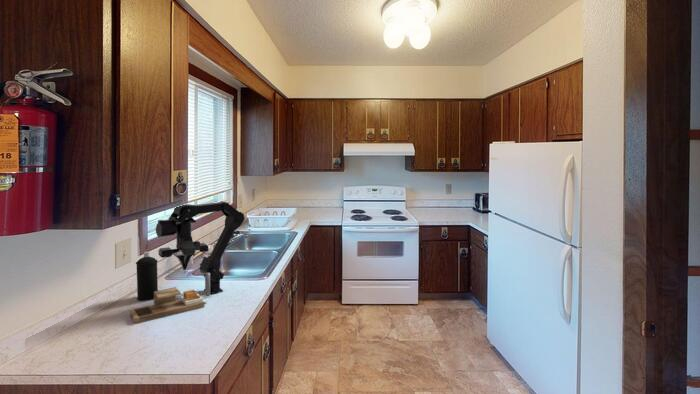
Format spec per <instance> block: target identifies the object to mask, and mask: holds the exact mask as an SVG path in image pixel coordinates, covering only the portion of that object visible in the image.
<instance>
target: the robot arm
mask: <svg viewBox="0 0 700 394" xmlns="http://www.w3.org/2000/svg"><path fill="white" fill-rule="evenodd" d="M184 204H185V205H182V206H179V207H176V206H175V207H176V208H175V207H174V208H173V211H172V213H171V214H170V216H169V217H168V218H167V219H158V220H157V223H156V225H155V234H156V236H157V237H158V238H162V237H169V236H170V237H171V236H175V239H176V245H175V248H170V247H169V246H167V247H161V248H159V250H158V256H159V257H161V258H163V259H164V258H171V257H172V256H174V257H175V258H177V259H178V261H179V263H180V266H181V268H182V269H183V270H184V271H185V270H187V268H188V265H189V262H190V259H191V258H192V257H193V256H195V255H196V251H198V252H199V251H200V252H201V253H206V252H207V253H208V252H209V245H207V244H206V243H204V242H200V241H199V240H195V241H193V236H192V224H193V223H196V222H197V220H195V218H194V217H196V216H198V215H201V214H208V213H216V212H221V213H222V214H223V216H225V220H224V228H223V230H222V232H221V234H220V235H219V238H218V239H217V241H216V243H215V245H214V247H213V249H212V251H211V253H210V255H209V256H207V257H206V256H204V257H203V258H202V261H201V263H200V264H199V272H200V273H201V274H202V276H203V277H204V278H205V273H210V295H212V294H217V293H221V292H223V291H224V289H222V288H221V280H223V279H224V276H225V274H224V273H223V272H222V271H221V270H220V269H221V260H222V257H223V256H224V253H225V251H226V249H227V247H228V245H229V243H230V241H231V239H232V238H233V235H234V234H235V233H234V232H236V230H237V229H239V228H240V227H241V226H242V224H243V222H244V221H245V218H246V217H245V214H244V213H243V212H242V211H239V210H238V209H236V208H235V207H233V206H232V205H231V204H230V203H229V202H227V201H222V200H221V201H219V202H217V201H216V202H209V203H201V204H191V203H190V204H188V203H184ZM203 291H204V292H205V288H204V289H203Z"/></svg>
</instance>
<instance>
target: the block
mask: <svg viewBox="0 0 700 394" xmlns="http://www.w3.org/2000/svg"><path fill="white" fill-rule="evenodd" d="M197 293H198V292H197V291H196V290H195V289H189V290H185V291H183V296H184V299H185V300H186V301H190V300H194V299H197Z"/></svg>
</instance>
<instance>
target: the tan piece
mask: <svg viewBox="0 0 700 394" xmlns="http://www.w3.org/2000/svg"><path fill="white" fill-rule="evenodd" d="M181 294H182V293H181V291H180V290H179V289H178V288H177V287H175V286H173V287H170V288H165V289H158V291H154V299H153V304H151V305H146V306H141V307H137V308H132V309H129V313H128V314H129V317H130V319H131V320H132V322H133V324H135V325H136V324H140V323H144V322H148V321H152V320H156V319H161V318H165V317H169V316H173V315H177V314H182V313H185V312H190V311H193V310H198V309H202V308H205V302H204V300H203V301H202V302H198V303H194V304H189V305H185V304H184V303H183V302H182V301H181V298H178V299H177V296H178V295H179V296H180V295H181ZM197 299H198V298H197Z"/></svg>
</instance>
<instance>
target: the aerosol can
mask: <svg viewBox="0 0 700 394" xmlns="http://www.w3.org/2000/svg"><path fill="white" fill-rule="evenodd" d="M158 262H159V261H158V259H156V258H155V257H153V256H150V251H145V252H143V257H141V258H139V259H138V260H137V261H136V262H135V265H136V287H137V288H136V291H137V292H136V293H137V297H136V300H138V301H139V302H148V301H152V300H153V301H154V291H159V285H158Z"/></svg>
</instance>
